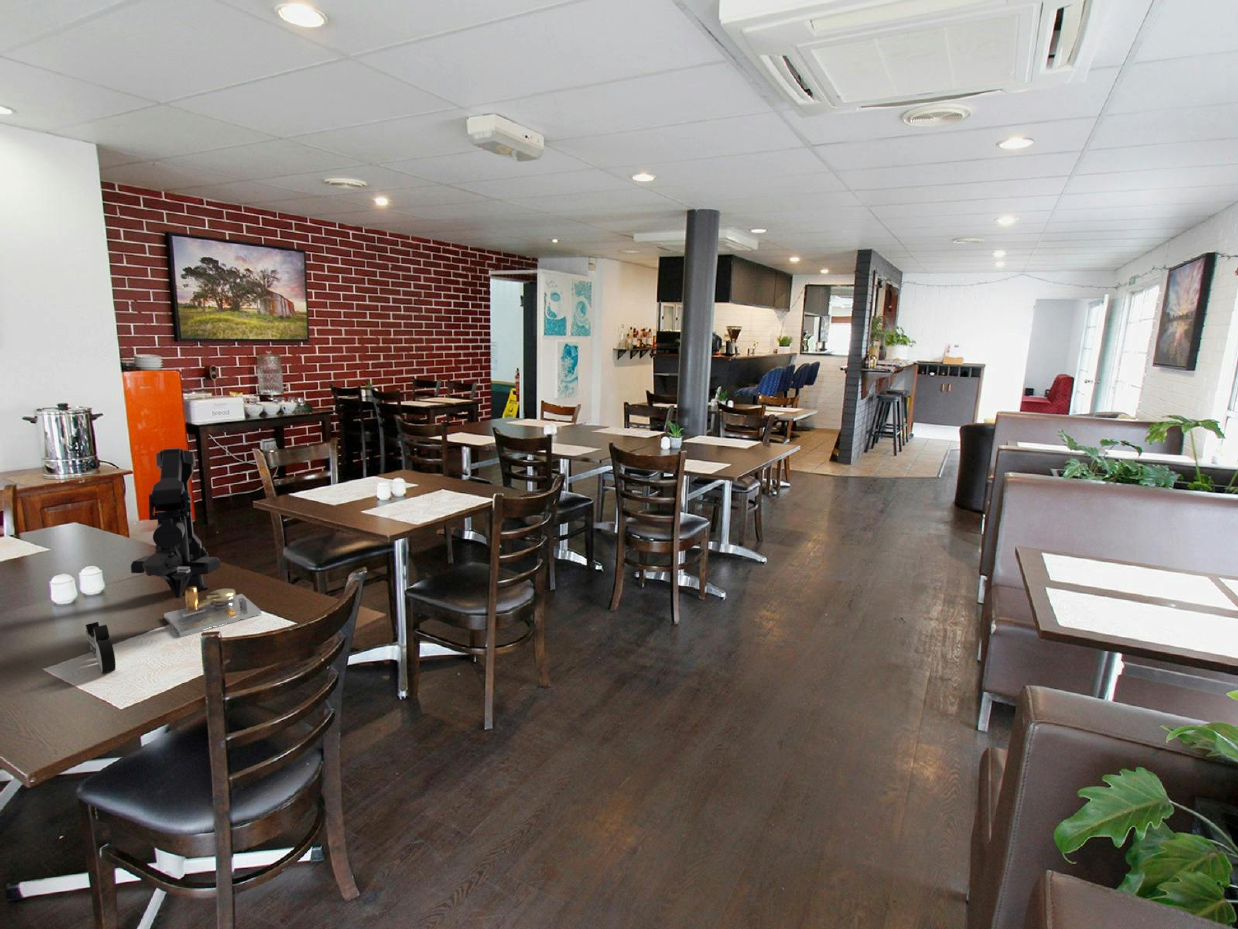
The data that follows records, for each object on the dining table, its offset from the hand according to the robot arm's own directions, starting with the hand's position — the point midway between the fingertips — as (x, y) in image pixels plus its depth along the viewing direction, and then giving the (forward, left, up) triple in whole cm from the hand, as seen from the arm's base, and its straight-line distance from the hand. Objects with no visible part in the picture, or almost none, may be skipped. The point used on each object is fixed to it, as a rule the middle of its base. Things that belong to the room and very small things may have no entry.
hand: (179, 597), depth 160 cm
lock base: (+1, +7, -7) cm, 9 cm away
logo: (+8, -17, -7) cm, 20 cm away
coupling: (0, +7, -3) cm, 8 cm away
